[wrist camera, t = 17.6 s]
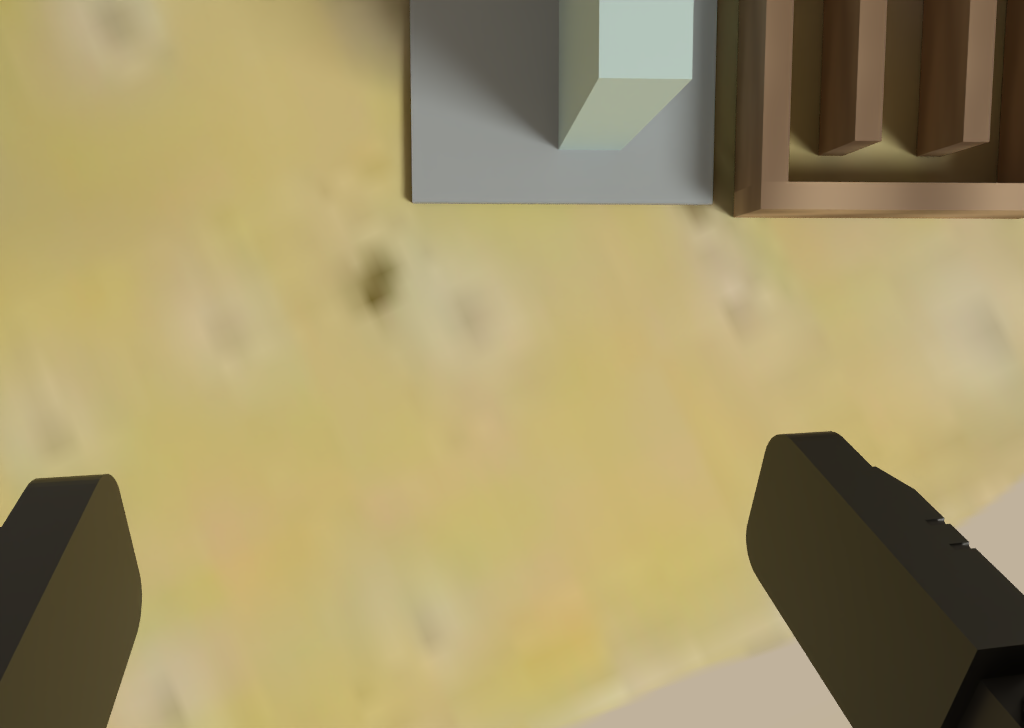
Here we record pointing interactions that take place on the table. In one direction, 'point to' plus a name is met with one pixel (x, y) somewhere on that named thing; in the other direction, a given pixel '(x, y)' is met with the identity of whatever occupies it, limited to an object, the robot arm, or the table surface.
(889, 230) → the table surface
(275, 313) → the table surface
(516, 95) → the grey mat
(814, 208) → the walnut box
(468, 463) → the table surface
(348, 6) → the table surface
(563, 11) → the cover plate
